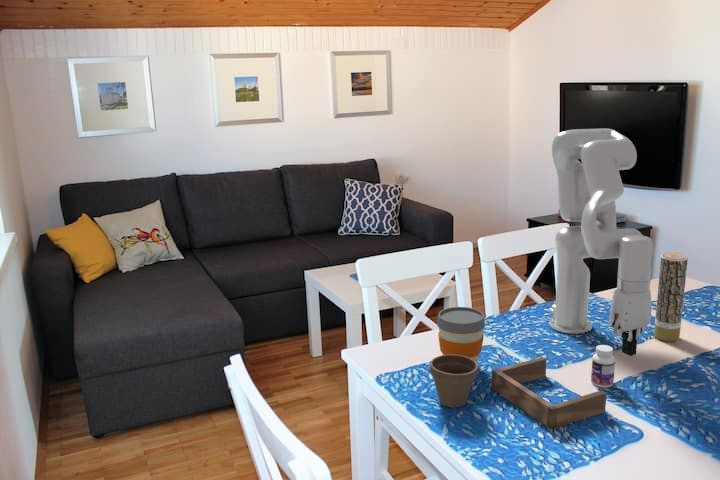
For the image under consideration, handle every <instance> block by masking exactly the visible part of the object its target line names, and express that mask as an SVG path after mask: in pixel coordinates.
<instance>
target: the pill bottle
mask: <svg viewBox="0 0 720 480" xmlns="http://www.w3.org/2000/svg"><path fill="white" fill-rule="evenodd" d="M613 354H614V347H612V346H610V345H608V344H607V345H606V344H599V345H596V347H595V353H594V354H593V356H592V360H591V361H592V363H591V373H590V382H591V384H592V385H593V386H596V387H598V388H604V389H605V388H606V389H607V388H611V387H612V386H614V381H615V370H616V368H615V367H616V357H615V356H614V355H613Z"/></svg>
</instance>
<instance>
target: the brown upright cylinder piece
mask: <svg viewBox="0 0 720 480" xmlns="http://www.w3.org/2000/svg"><path fill="white" fill-rule="evenodd" d="M660 257H661V258H660V266H659V276H658V286H657V296H656V297H657V298H656V308H655V309H656V310H655V319H654V330H653V335H654V338H656V339H657V340H659V341H662V342H669V343H670V342H676V341H678V340H679V339H680V335H681V327H682V326H681V325H682V316H683V307H684V297H685V288H686V279H687V270H688V258H689V257H688V255H686V254H684V253H679V252H664V253H662V254H661V256H660Z"/></svg>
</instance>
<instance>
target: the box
mask: <svg viewBox="0 0 720 480" xmlns="http://www.w3.org/2000/svg"><path fill="white" fill-rule="evenodd" d="M546 375H547V358H546V357H544V356H540V357H538V358H533V359H530V360H526V361H521V362H518V363H514V364H511V365H507V366H503V367H499V368H496V369H495V368H494V369H492V370H491V389H492V390H493V391H495V392H496V393H498V394H499V395H500V396H502V397H504V398H505V399H506V400H508V401H509V402H511V403H512V404H514V405H515V406H517V407H518V408H519V409H521V410H522V411H523V412H525V413H527V414H528V415H529V416H530V417H532V418H534V419H535V420H536V421H538V422H539V423H541V424H542V425H543V426H545V427H547V428H548V429H549V428H550V429H549V430H551V429H552V430H555V429H558V428H561V427H564V426H567V425H570V423H571V424H573V423H572V422H574V423H577V422H579V421H578V420H580V421H582V420H581V419H583V420H585V419H584V418H586V419H588V417H589V418H592V417H595V416H598V415H601V414H604V413H603V412H605V413H606V406H607V394H608V393H607V391H606V392H605V391H604V390H602V389H601V390H597V391H594V392H591V393H588V394H585V395H581V396H578V397H576V398H575V397H574V398H571V399H569V400H565V401H562V402H558V403H555V404H552V403H551V402H549V401H548V400H546V399H544V398H543V397H541V396H540V395H538V393H537V394H536V393H535V392H534V391H532V390H531V389H529V388H527V387H525V385H523V384H526V383H528V382H531V381H536V380H539V379H542V378H546ZM600 413H601V414H600ZM597 414H598V415H597ZM594 415H595V416H594ZM591 416H592V417H591ZM576 421H577V422H576ZM566 424H567V425H566ZM557 427H558V428H557Z"/></svg>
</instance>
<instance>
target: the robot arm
mask: <svg viewBox="0 0 720 480" xmlns="http://www.w3.org/2000/svg"><path fill="white" fill-rule="evenodd" d="M551 145H552V146H551V153H552V159H553V160H552V161H553V164H554V167H555V169H556V173H557V180H558V181H557V184H558V185H557V187H558V189H557V190H558V207H559V208H558V210H559V215H560V217H561V219H562V220H564V221H566V222H580V225H574V226H573V225H572V226H566V227H563V228H561V229H560V230H558V232H557V233H556V235H555V238H554V239H555V242H554V243H555V244H554V245H555V251H556V261H557V262H556V264H557V266H556V267H557V268H556V289H555V290H556V291H555V304H553V305H551V307H550V308H548V310H547V311H548V313H550V314H552V318H550V319H549V322H548V324H549V326H550V328H551V329H553V330H554V331H557V332H560V333H563V334H571V335H572V334H573V335H579V334H580V333H581V334H586V333H588V331H589V332H591V330H593V323H592V322H591V321H590V320H588V314H589V311H588V310H589V297H590V281H591V272H590V268H589V267H588V266H587V264H586V263H585V262H584V259H588V258H593V259H594V260H596V259H597V260H607V259H609V260H610V259H618V266H617V279H616V280H617V282H616V283H617V284H616V289H614V291H613V295H612V299H611V302H610V310H609V320H608V321H609V322H608V325H609V327H611V328H613V330H612V334H613V335H614V336H617V337H620V338H621V341H622V342H621V353H623V354H624V355H627V356H629V357H632V356H636V355H637V346H638V340H639V339H640V335H641V333H642V332H643V331H645V330H646V329H648V327H649V325H650V323H651V320H652V292H651V289H650V288H651V287H650V286H651V277H652V276H651V275H652V274H651V273H652V260H653V259H652V257H653V248H654V247H653V246H654V244H653V240H652V239H651V237H649V236H646V235H643V234H642V232H641V231H639V230H638V229H636V228H631V227H630V228H628V227H627V228H617V209H616V208H617V207H616V201H617V200H618V199H619V198H621V197H622V195H623V194H624V191H625V188H624V185H623V181H622V177H621V175H620V171H624V170H630V169H632V168H633V167H634V166H635V165H636V163H637V159H638V158H637V157H638V156H637V155H638V154H637V153H638V152H637V149H636V147H635V145H634V144H633V142H632V141H631V140H630V139H629V137H627V136H625V135H623V134H621V133H620V132H619V131H616V130H615V129H612V128H606V127H605V128H580V129H579V128H576V129H568V130H564V131H561V132H559V133H557V134H556V135H554V138H553V141H552V144H551ZM580 160H581V161H580ZM585 332H586V333H585Z"/></svg>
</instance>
